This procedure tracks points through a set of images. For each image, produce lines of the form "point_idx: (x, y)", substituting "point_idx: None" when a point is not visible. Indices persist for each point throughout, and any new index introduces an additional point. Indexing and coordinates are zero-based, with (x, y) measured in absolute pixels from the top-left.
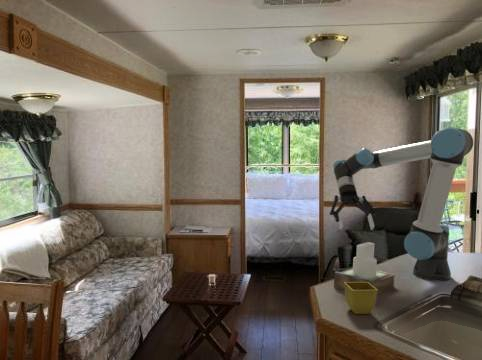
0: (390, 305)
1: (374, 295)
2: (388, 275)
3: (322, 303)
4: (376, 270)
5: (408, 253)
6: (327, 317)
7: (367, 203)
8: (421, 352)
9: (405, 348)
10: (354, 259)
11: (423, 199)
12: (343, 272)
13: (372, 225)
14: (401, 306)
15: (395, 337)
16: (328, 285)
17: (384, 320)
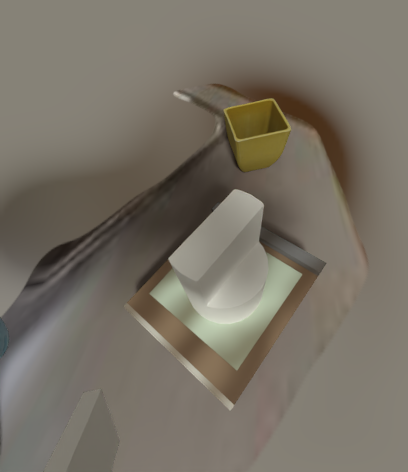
0: (188, 196)
1: (230, 117)
2: (147, 293)
3: (325, 177)
4: (170, 347)
5: (8, 342)
6: (307, 133)
7: None
8: (193, 90)
9: (208, 92)
10: (264, 250)
11: None
12: (295, 295)
13: (98, 403)
14: (168, 196)
15: (212, 108)
16: (331, 291)
17: (215, 142)
